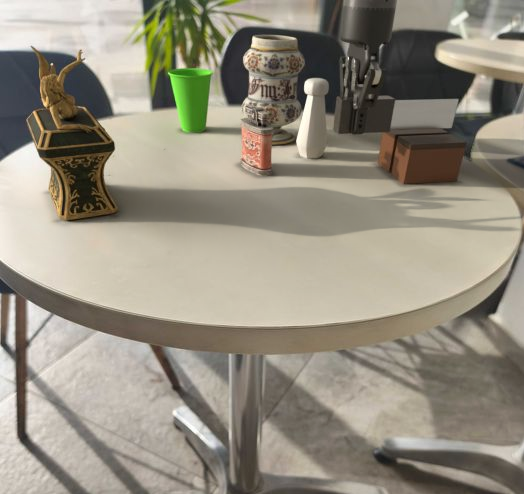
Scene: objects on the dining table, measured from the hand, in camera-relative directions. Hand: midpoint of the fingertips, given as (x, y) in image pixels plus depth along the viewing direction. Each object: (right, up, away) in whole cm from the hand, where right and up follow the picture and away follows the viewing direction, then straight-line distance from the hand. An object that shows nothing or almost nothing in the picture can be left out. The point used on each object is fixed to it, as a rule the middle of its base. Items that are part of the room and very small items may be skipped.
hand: (353, 130), depth 81 cm
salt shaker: (-6, +1, +13) cm, 15 cm away
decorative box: (-43, -13, -6) cm, 45 cm away
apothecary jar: (-13, +8, +22) cm, 26 cm away
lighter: (-16, -4, +7) cm, 18 cm away
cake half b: (+12, -2, +9) cm, 15 cm away
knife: (+7, +1, +1) cm, 8 cm away
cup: (-30, +11, +26) cm, 41 cm away
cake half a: (+13, -6, +5) cm, 15 cm away
